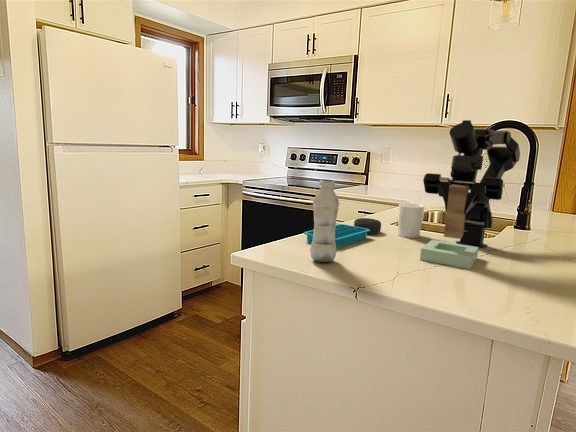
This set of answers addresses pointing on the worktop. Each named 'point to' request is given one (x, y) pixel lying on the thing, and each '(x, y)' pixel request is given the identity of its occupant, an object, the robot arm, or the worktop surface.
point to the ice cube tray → (344, 234)
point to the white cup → (410, 220)
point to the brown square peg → (456, 211)
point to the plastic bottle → (324, 222)
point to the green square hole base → (449, 254)
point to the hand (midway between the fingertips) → (455, 211)
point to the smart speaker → (368, 225)
